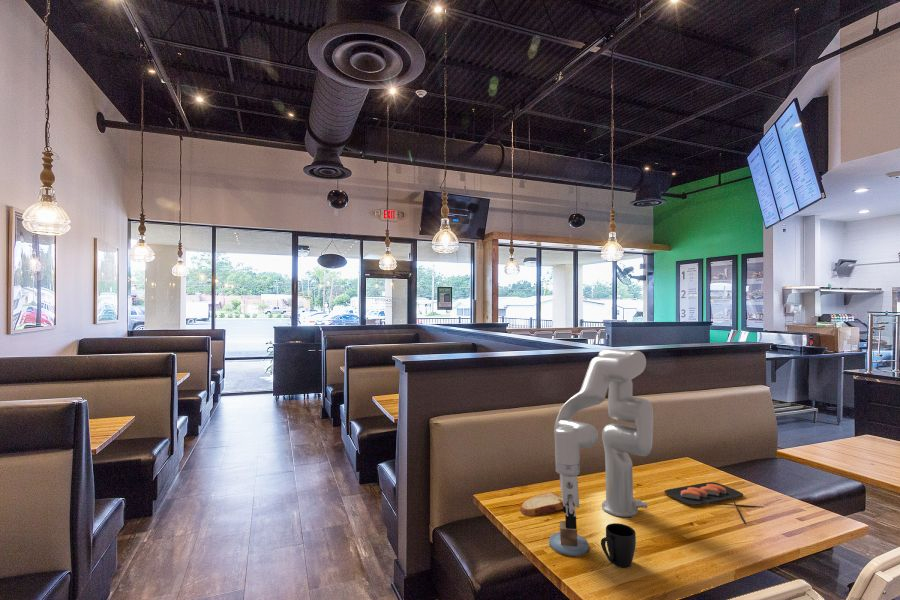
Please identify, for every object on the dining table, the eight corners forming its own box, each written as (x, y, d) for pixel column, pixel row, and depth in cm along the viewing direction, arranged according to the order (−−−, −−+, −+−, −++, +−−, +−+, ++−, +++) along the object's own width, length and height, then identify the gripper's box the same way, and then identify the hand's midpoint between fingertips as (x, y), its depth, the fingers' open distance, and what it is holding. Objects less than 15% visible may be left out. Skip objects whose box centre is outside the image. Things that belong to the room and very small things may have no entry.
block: (575, 538, 138) (575, 522, 138) (577, 546, 133) (577, 530, 133) (559, 536, 139) (559, 521, 139) (560, 544, 134) (560, 528, 134)
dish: (585, 537, 140) (585, 533, 141) (590, 558, 129) (590, 553, 129) (548, 534, 143) (548, 530, 143) (550, 554, 131) (550, 549, 131)
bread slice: (518, 515, 157) (518, 505, 157) (525, 495, 174) (525, 486, 174) (569, 522, 151) (569, 512, 151) (570, 501, 168) (570, 491, 169)
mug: (591, 563, 126) (590, 530, 126) (619, 551, 132) (618, 520, 132) (613, 578, 119) (613, 543, 119) (642, 565, 125) (641, 532, 125)
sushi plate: (714, 485, 183) (713, 476, 184) (789, 516, 155) (788, 506, 155) (660, 495, 174) (660, 485, 174) (730, 530, 146) (729, 519, 146)
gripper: (583, 478, 128) (585, 535, 127) (577, 457, 145) (578, 508, 144) (557, 477, 129) (559, 534, 129) (554, 456, 146) (556, 506, 146)
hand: (569, 520), depth 137 cm, fingers open, 9 cm apart
